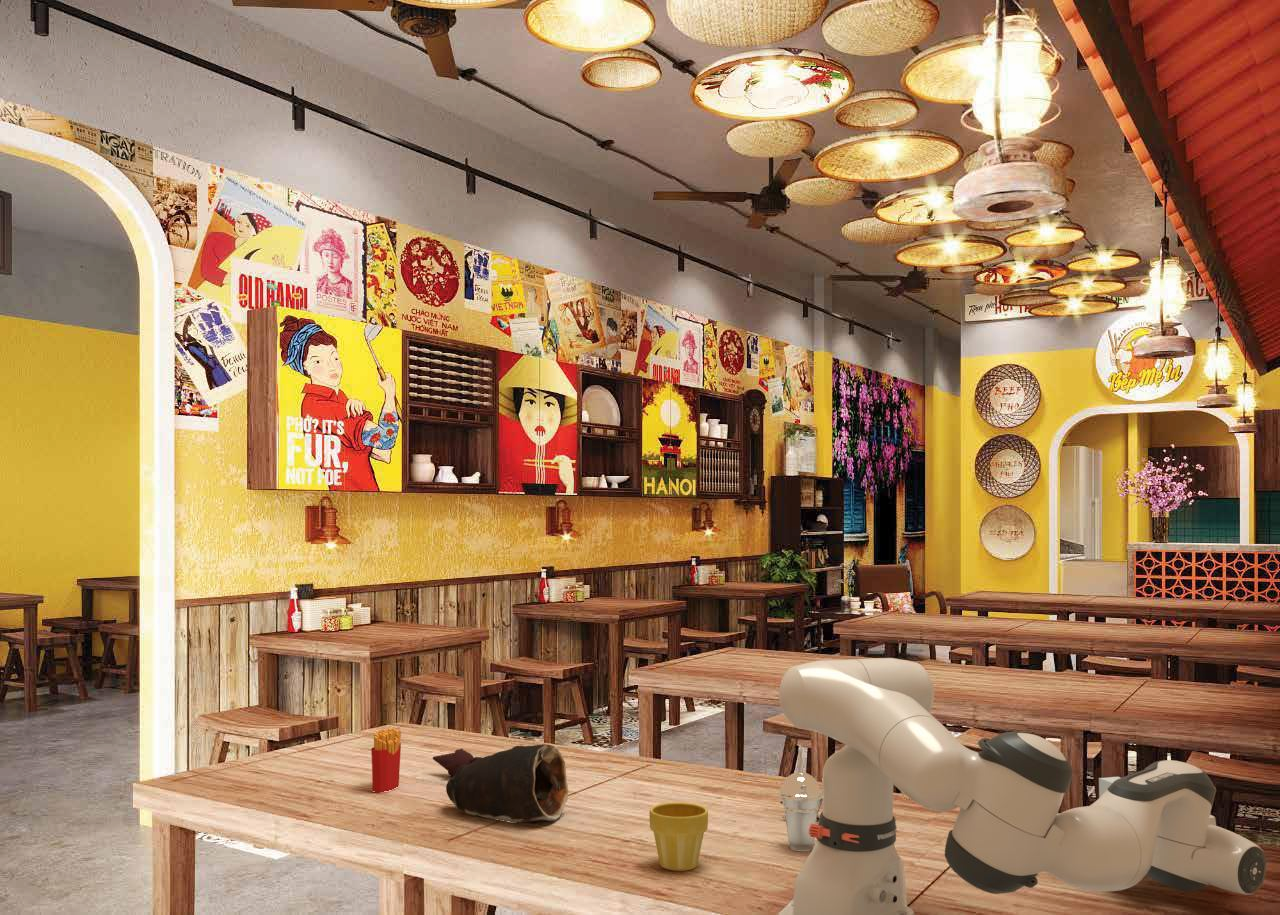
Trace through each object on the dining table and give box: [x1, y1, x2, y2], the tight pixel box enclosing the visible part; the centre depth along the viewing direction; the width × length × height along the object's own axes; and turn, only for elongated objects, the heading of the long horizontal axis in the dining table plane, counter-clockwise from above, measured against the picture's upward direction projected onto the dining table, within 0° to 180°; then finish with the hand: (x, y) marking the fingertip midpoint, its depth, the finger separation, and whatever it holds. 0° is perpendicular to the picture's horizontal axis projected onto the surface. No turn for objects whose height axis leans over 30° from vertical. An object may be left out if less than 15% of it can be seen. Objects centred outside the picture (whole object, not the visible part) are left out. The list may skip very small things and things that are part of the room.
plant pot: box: [649, 801, 709, 872], centre depth 189 cm, size 10×10×10 cm
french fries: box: [370, 727, 402, 793], centre depth 240 cm, size 9×4×13 cm, turn 160°
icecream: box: [432, 748, 483, 779], centre depth 250 cm, size 7×7×15 cm
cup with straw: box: [777, 743, 822, 853], centre depth 199 cm, size 8×9×20 cm
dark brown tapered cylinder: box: [445, 743, 569, 823], centre depth 220 cm, size 15×15×25 cm
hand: (1113, 816), depth 187 cm, fingers closed on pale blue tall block, 4 cm apart
